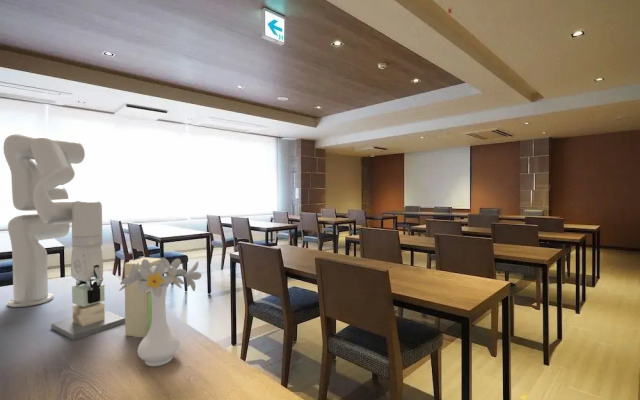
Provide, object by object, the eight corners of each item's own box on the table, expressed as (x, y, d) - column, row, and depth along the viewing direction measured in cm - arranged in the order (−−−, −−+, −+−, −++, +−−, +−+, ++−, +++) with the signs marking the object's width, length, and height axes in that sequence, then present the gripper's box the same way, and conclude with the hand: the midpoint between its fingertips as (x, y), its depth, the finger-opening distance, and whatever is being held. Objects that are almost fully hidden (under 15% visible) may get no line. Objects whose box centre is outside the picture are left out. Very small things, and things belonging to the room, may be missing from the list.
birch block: (72, 321, 101) (72, 305, 101) (94, 315, 106) (94, 299, 106) (82, 326, 98) (82, 309, 98) (104, 319, 103) (104, 303, 103)
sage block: (72, 303, 101) (72, 286, 100) (93, 297, 106) (93, 281, 106) (83, 306, 98) (82, 289, 97) (104, 300, 103) (104, 284, 103)
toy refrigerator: (147, 338, 94) (146, 264, 93) (124, 335, 95) (123, 262, 95) (165, 326, 102) (165, 258, 101) (144, 324, 103) (143, 257, 102)
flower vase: (208, 351, 87) (208, 256, 86) (136, 385, 72) (135, 270, 71) (179, 337, 95) (179, 250, 94) (108, 366, 80) (107, 262, 78)
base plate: (51, 328, 100) (51, 323, 100) (101, 313, 112) (101, 308, 112) (73, 340, 92) (73, 334, 92) (125, 322, 104) (125, 318, 104)
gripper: (59, 240, 102) (61, 298, 103) (87, 246, 93) (88, 309, 94) (87, 237, 109) (88, 291, 109) (115, 242, 100) (116, 302, 100)
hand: (88, 299), depth 102 cm, fingers closed on sage block, 5 cm apart
